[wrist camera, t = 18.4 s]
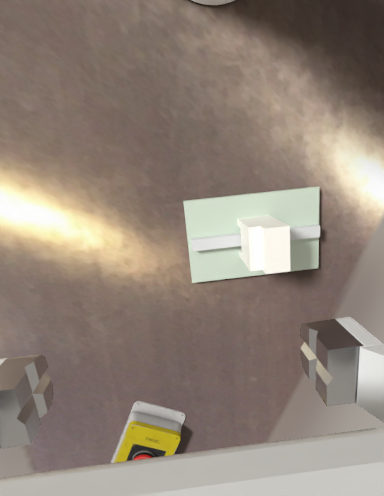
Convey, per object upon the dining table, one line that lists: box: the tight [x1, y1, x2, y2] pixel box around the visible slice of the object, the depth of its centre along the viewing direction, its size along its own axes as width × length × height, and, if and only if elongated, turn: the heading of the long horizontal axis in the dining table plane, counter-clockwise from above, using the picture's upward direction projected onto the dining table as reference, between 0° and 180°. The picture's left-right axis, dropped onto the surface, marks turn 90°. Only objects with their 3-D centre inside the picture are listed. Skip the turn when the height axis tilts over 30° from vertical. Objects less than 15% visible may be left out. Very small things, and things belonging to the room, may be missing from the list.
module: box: [237, 215, 290, 274], centre depth 39 cm, size 5×6×8 cm
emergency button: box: [111, 401, 185, 463], centre depth 51 cm, size 9×4×15 cm
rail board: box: [183, 187, 320, 283], centre depth 43 cm, size 19×12×2 cm, turn 96°
